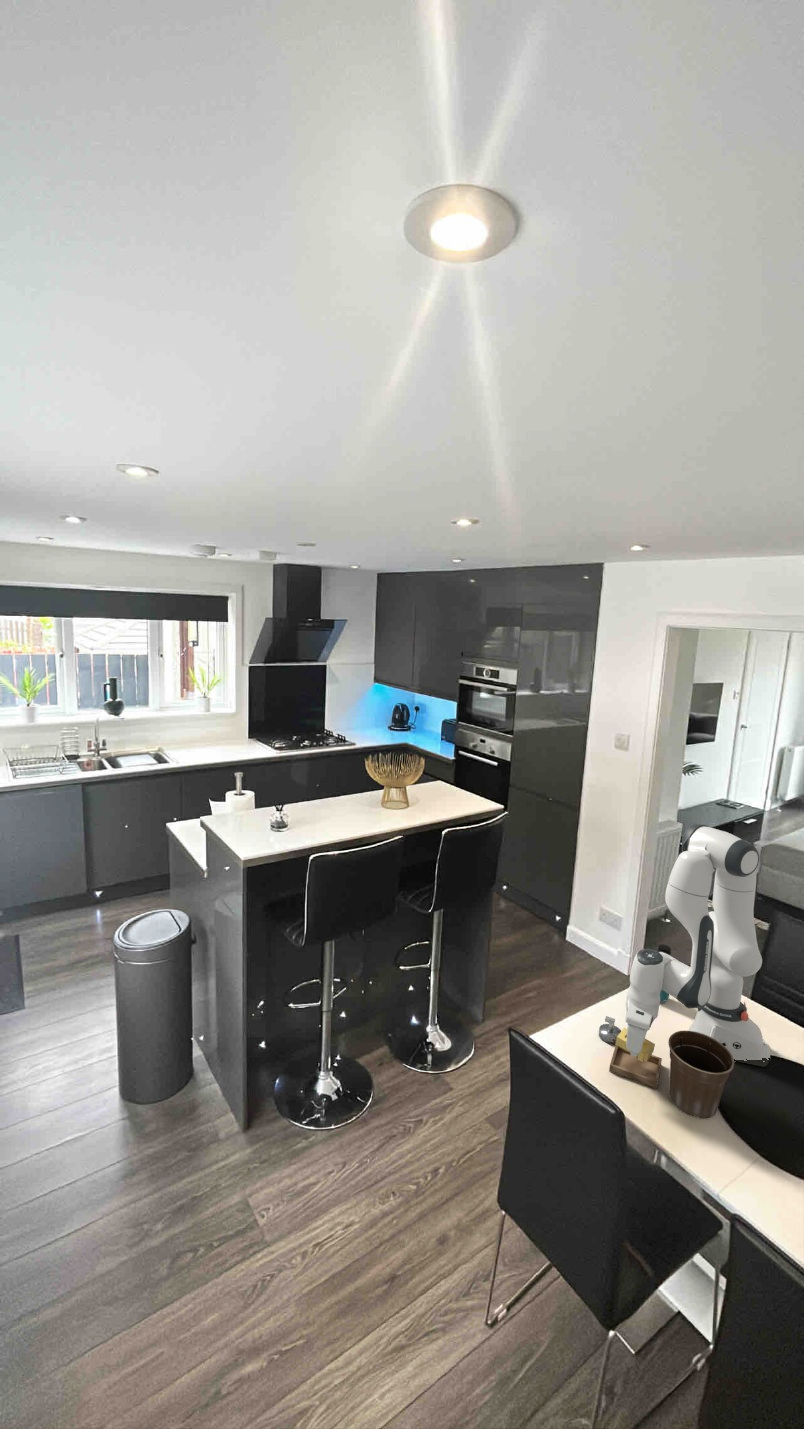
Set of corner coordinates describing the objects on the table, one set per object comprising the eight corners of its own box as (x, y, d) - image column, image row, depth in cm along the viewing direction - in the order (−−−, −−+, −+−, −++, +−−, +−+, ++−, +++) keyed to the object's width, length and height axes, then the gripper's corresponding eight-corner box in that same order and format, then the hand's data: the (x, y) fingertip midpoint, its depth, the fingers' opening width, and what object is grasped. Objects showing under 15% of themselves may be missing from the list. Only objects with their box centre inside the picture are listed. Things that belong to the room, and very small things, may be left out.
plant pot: (736, 1107, 170) (745, 1055, 167) (709, 1137, 160) (717, 1082, 157) (679, 1071, 183) (686, 1022, 180) (650, 1097, 173) (657, 1046, 170)
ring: (622, 1034, 187) (624, 1027, 187) (653, 1051, 181) (655, 1043, 181) (614, 1046, 182) (615, 1038, 181) (645, 1063, 176) (647, 1055, 176)
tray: (661, 1064, 185) (661, 1058, 184) (656, 1089, 175) (657, 1082, 175) (615, 1048, 191) (616, 1042, 190) (609, 1071, 181) (609, 1064, 181)
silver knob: (623, 1034, 197) (625, 1017, 196) (619, 1047, 191) (621, 1030, 190) (601, 1026, 201) (602, 1009, 199) (596, 1039, 195) (598, 1021, 193)
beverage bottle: (670, 1006, 212) (677, 953, 209) (649, 1003, 213) (656, 950, 210) (666, 994, 218) (673, 943, 215) (646, 991, 220) (653, 940, 216)
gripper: (636, 983, 190) (630, 1023, 192) (625, 1020, 172) (618, 1064, 174) (658, 990, 187) (652, 1031, 189) (649, 1029, 169) (642, 1073, 172)
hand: (635, 1047), depth 182 cm, fingers closed on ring, 6 cm apart
